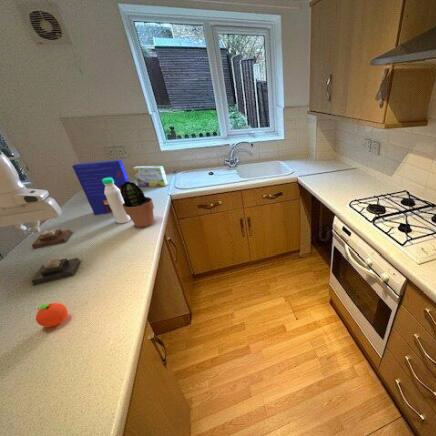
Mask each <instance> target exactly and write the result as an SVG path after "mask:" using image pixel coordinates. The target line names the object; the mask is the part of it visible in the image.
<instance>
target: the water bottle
mask: <svg viewBox="0 0 436 436" xmlns="http://www.w3.org/2000/svg"><path fill="white" fill-rule="evenodd" d="M102 182H103V184H104V185H105V190H104V194H105V195H106V198H107V201H108V203H109V205H110V208H111V210H112V212H111V213H112V215H113V217H114V220H115V222H116V223H117V224H125V223H127V222H130V220H132V219H131V218H130V216H129V215H127V214H126V212H125V210H124V208H123V203H124V200H123V197H122V195H121V193H120V189H119V188H118V187H117V186H116V185H114V180H113V178H104V179H102Z"/></svg>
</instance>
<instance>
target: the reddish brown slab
mask: <svg viewBox="0 0 436 436" xmlns="http://www.w3.org/2000/svg"><path fill="white" fill-rule="evenodd" d="M55 230H56V233H55V234H54V235H50V236H43V233H42V234H40V235H39V236H38V237H37V238H36V239H35V240H34V241H33V242H32V243H31V247H32V248H33V250H36V249H41V248H45V247H50V246H56V245H59V244H65V243H67V242H68V239H70V237H71V236H72V234H73V232H72V230H71V229H65V230H62V229H61V228H59V229H55Z"/></svg>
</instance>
